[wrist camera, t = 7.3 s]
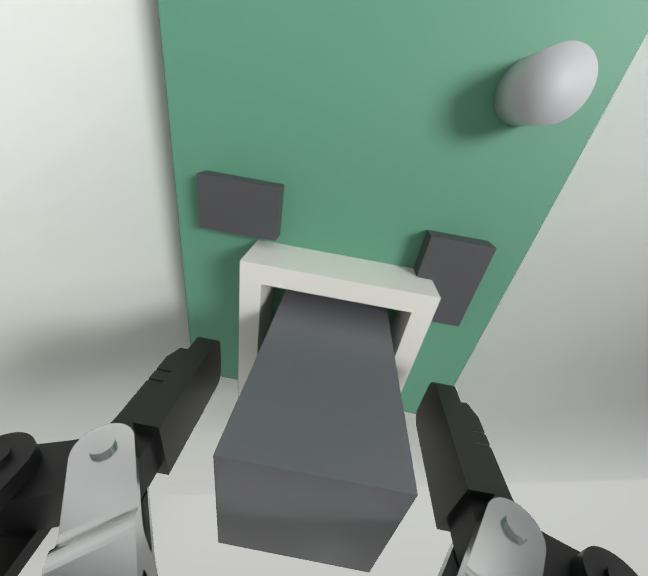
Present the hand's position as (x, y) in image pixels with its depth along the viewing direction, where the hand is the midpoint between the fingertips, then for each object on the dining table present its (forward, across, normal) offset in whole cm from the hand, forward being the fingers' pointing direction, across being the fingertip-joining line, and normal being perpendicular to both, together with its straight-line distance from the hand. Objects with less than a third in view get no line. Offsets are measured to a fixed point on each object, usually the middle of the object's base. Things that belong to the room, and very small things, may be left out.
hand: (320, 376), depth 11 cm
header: (+3, 0, 0) cm, 3 cm away
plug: (+3, 0, 0) cm, 3 cm away
